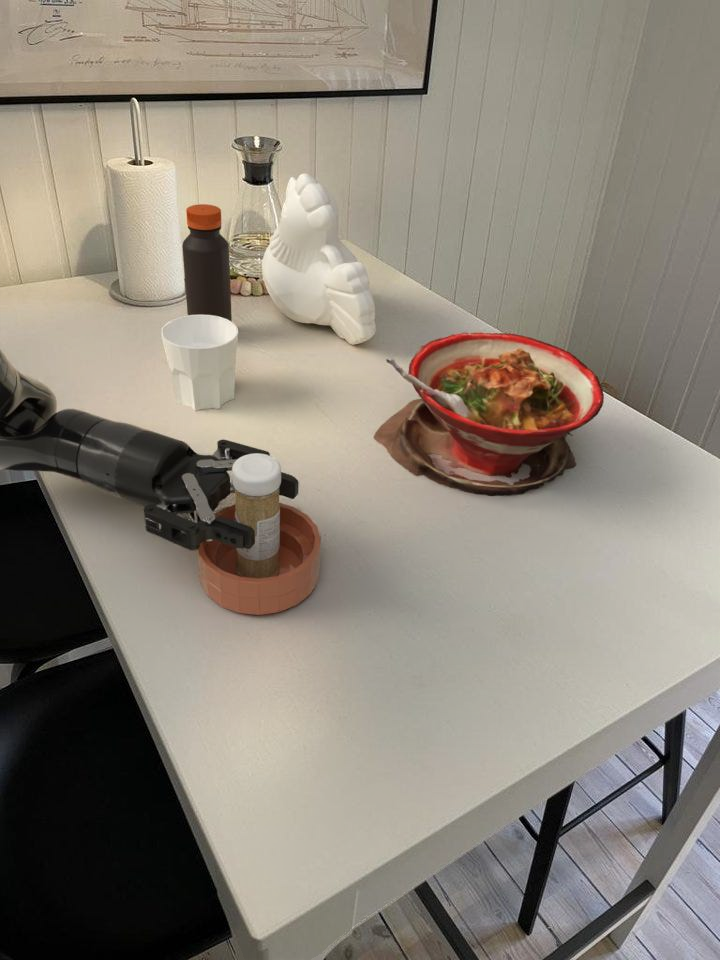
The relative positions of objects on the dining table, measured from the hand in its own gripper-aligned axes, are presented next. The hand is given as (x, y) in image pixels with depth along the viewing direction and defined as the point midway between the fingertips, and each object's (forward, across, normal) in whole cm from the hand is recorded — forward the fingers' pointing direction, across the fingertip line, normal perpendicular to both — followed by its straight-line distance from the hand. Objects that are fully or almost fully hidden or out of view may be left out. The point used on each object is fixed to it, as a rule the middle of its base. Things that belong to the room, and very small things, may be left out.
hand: (276, 513), depth 72 cm
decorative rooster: (-22, +55, +9) cm, 60 cm away
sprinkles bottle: (-2, 0, +9) cm, 9 cm away
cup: (-27, +27, +9) cm, 39 cm away
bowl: (-2, 0, +9) cm, 9 cm away
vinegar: (-36, +43, +9) cm, 57 cm away
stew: (+12, +33, +9) cm, 36 cm away
